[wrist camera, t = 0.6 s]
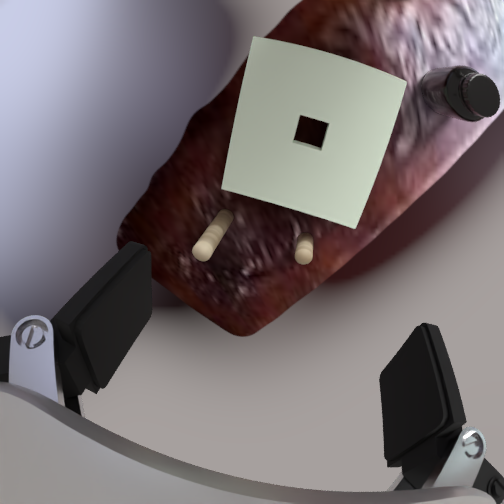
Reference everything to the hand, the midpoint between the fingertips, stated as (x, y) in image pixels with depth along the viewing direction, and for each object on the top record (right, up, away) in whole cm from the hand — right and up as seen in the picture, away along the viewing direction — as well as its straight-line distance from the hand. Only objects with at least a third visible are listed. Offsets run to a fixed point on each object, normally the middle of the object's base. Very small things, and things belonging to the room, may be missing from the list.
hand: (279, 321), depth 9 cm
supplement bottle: (+25, +24, +19) cm, 39 cm away
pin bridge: (+7, +19, +26) cm, 33 cm away
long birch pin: (-5, +8, +37) cm, 38 cm away
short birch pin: (+7, +4, +36) cm, 37 cm away
